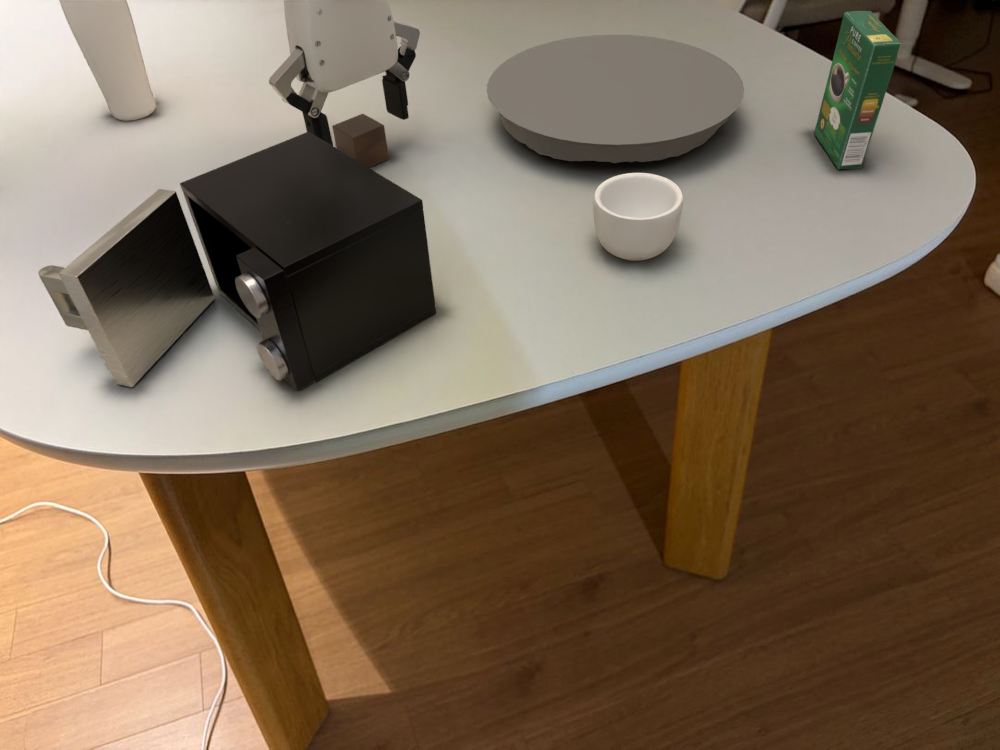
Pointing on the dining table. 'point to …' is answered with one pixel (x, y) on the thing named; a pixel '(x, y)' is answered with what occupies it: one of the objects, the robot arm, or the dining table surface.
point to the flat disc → (614, 97)
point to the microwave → (313, 254)
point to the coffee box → (855, 88)
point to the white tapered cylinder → (112, 54)
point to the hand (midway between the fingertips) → (361, 131)
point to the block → (362, 140)
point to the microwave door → (134, 287)
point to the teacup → (637, 214)
